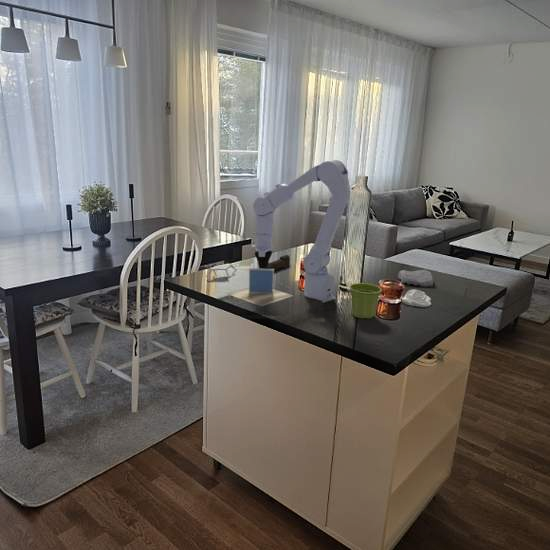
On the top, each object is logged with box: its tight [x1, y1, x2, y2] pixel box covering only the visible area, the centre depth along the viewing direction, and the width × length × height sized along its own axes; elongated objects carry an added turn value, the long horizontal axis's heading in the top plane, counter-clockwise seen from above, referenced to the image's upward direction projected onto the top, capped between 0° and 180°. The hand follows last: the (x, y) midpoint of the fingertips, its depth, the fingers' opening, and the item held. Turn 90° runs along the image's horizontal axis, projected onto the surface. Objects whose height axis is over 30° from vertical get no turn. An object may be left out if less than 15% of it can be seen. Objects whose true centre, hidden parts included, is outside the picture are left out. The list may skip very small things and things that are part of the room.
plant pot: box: [348, 282, 383, 320], centre depth 143 cm, size 9×9×9 cm
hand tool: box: [267, 254, 291, 271], centre depth 190 cm, size 19×4×5 cm, turn 144°
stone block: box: [397, 269, 434, 287], centre depth 179 cm, size 12×5×10 cm
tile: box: [248, 267, 275, 293], centre depth 157 cm, size 8×1×8 cm, turn 87°
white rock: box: [401, 288, 432, 308], centre depth 156 cm, size 10×4×10 cm
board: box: [226, 286, 294, 307], centre depth 156 cm, size 16×15×1 cm
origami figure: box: [205, 263, 238, 280], centre depth 174 cm, size 12×8×5 cm
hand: (263, 272), depth 164 cm, fingers closed
